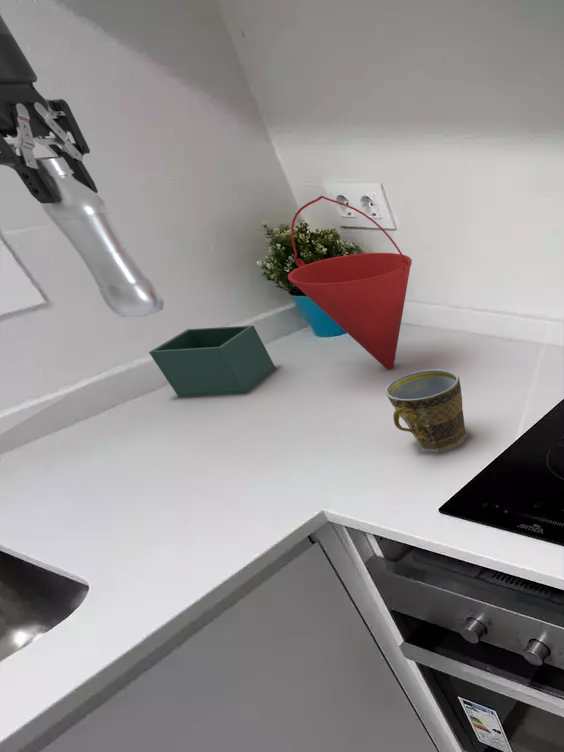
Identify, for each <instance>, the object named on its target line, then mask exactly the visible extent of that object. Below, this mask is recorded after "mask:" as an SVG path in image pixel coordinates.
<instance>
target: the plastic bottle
mask: <svg viewBox="0 0 564 752" xmlns="http://www.w3.org/2000/svg"><path fill="white" fill-rule="evenodd" d="M34 158H35V161H36V165H37V166H36V169H41V170H42V172H43V174H44V175H45V177H46V178H47V180H48V181H49V183H50V184H51V186H52V188H53V189H54V191H55V192H56V194H57V195H58V197H59V199H60V201H59V202H57V203H40V207H41V209H42V210H43V212H44V213H45V214H46V216H47V217H49V220H51V222H52V223H53V224H54V225H55V226H56V227H57V229H58V231H60V232H61V233H62V234H63V236H64V237H65V238H66V239H67V241H68V242H69V243H70V245H71V246H72V247H73V249H74V251H76V252H77V254H78V256H79V257H80V258H81V260H82V261H83V262H84V263H83V264H85V266H86V268H87V271H88V272H89V273H90V276H91V277H92V279H93V280H94V283H95V284H96V286H97V290H98V292H99V294H100V296H101V298H102V300H103V302H104V304H105V305H106V306H107V307H108V308H109V309H110V311H111V312H112V313H114V314H116V315H117V316H119V317H121V318H142V317H143V318H145V317H147V316H151V315H153V314H155V313H158V312H161V311H162V310H163V309H164V303H165V301H164V298H163V296H162V294H161V292H160V291H159V290H158V287H156V285H155V284H154V283H153V282H152V281H151V279H150V278H148V277H147V275H146V274H145V272H144V271H143V269H142V268H141V267H140V265H139V264H138V262H137V261H136V260H135V258H134V257H133V255H132V254H131V252H130V251H129V250H130V249H128V247H127V246H126V244H125V241H124V239H123V238H122V236H121V233H120V232H119V230H118V227H117V226H116V223H115V221H114V218H113V216H112V215H111V212H110V211H109V208H108V206H107V204H106V202H105V201H104V199H103V198H101V196H100V195H98V193H95V192H94V191H92V190H91V189H90V188H88V187H87V186H85V185H84V184H82V183H81V182H79V181H78V180H76V179H75V178H74V177H73V176H72V174H73V173H74V172H73V170H72V169H70V167H69V165H68V164H67V162H66V160H65V159H64V158H63V157H55V156H43V157H42V156H41V157H34Z"/></svg>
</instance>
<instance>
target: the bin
mask: <svg viewBox="0 0 564 752" xmlns="http://www.w3.org/2000/svg"><path fill="white" fill-rule="evenodd" d="M148 354H149V355H150V356H151V358H152V360H153V361H154V363H155V364H156V365H157V367H158V368H159V371H161V373H162V374H163V376H164V377H165V379H166V381H167V382H168V384H169V385H170V387H171V388H172V390H173V391H174V393H175V394H176V395H177V397H178V398H192V397H193V398H194V397H208V396H224V395H225V396H226V395H239V394H240V395H241V394H242V395H243V394H248V393H249V392H250V391H252V390H253V389H254V388H255V387H256V386H257V385H258V384H260V383H261V382H262V381H263V380H264V379H265V378H267V377H268V376H269V375H270V374H271V373H272V372H274V371H275V370H276V369H277V367H276V366H275V364H274V362H273V360H272V359H271V357H270V354H269V352H268V351H267V349H266V347H265V345H264V342H263V341H262V339H261V337H260V335H259V334H258V331H257V329H256V327H255V325H237V326H235V325H234V326H221V327H220V326H219V327H201V328H187V329H185V330H184V331H182V332H181V333H179V334H177V335H175V336H173V337H172V338H171V339H170V338H169V340H167V341H165V342H163V343H162V344H160V345H158V346H157V347H155V348H153V349H152V350H150V351H149V352H148Z"/></svg>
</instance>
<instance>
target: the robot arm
mask: <svg viewBox="0 0 564 752" xmlns="http://www.w3.org/2000/svg"><path fill="white" fill-rule="evenodd" d="M36 82H38V76H37V74H36V73H35V71H34V69H33V67H32V65H31V64H30V62H29V60H28V59H27V57H26V55H25V54H24V52H23V50H22V49H21V47H20V45H19V43H18V42H17V40H16V39H15V37H14V35H13V34H12V32H11V30H10V29H9V27H8V25H7V23H6V22H5V20H4V18H3V17H2V15H1V14H0V166H5V167H8V168H10V169H13V170H14V171H15V172H16V174H17V175H18V176H19V178H20V180H21V181H22V183H23V184H24V186H25V187H26V189H27V190H28V192H29V193H30V195H31V196H32V197H33V198H34V199H35V200H36V201H37V202H39V203H40V204H41V203H57V202H59V201H60V199H59V197H58V195H57V194H56V192H55V191H54V189H53V188H52V186H51V184H50V183H49V181H48V180H47V178H46V177H45V175H44V174H43V172H42V170H41V169H36V166H37V165H36V161H35V158H36V157H35V155H34V152H33V149H34V148H35V147H36V143H38V144H39V145H41V146H44V147H45V148H46V149H47V150H48V151H49V152H50V153H51V154H52V155H53V157H63V158H64V159H65V160H66V162H67V164H68V165H69V167H70V169H72V170H73V172H74V173H73V174H72V176H73V177H74V178H75V179H76V180H78V181H79V182H81V183H82V184H84V185H85V186H87V187H88V188H90V189H91V190H92V191H94V192H95V193H96V194H98V192H99V191H98V188H97V186H96V183H95V181H94V179H93V178H92V176H91V175H90V173H89V171H88V169H87V168H86V166H85V164H84V163H83V161H84V155H85V154H88V155H89V154H90V152H91V149H90V147H89V145H88V143H87V141H86V139H85V136H84V135H83V132H82V131H81V128H80V126H79V124H78V122H77V120H76V118H75V116H74V114H73V112H72V110H71V108H70V106H69V104H68V103H67V101H66V100H64V99H63V98H55V99H51V98H50V99H48V98H45V97H44V96H43V95H42V94H41V93H40V92H39V91H38V90H37V88H36V87H35V86H34V83H36ZM68 133H70V135H71V137H72V139H73V141H74V142H71V139H70V137H69V135H68ZM59 146H60V147H61V148H60V147H59ZM17 150H18V152H19V154H17Z"/></svg>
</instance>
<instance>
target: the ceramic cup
mask: <svg viewBox="0 0 564 752" xmlns="http://www.w3.org/2000/svg"><path fill="white" fill-rule="evenodd" d="M385 395H386V397H387V398H388V400H389V402H390V403H391V405H392V407H393V408H394V412H393V416H392V417H393V423H394V426H395V427H396V429H398V430H400V431H403V432H409V433H410V434H412V435H413V437H414V439H415V441H416V442H417V444H418V445H419V447H420V449H421V451H423V452H424V453H437V454H441V453H444V452H446V451H449V450H453V449H456V448H458V447H459V446H460V445H461V444H462V443H463V442H464V441H465V440H466V438H467V434H466V427H465V416H464V410H463V395H462V387H461V382H460V377H459V375H458V374H457V373H456V372H453V371H451V370H447V369H439V368H438V369H424V370H418V371H414V372H410V373H407V374H405V375H402V376H400V377H398V378H396V379H394V380H392V381H391V382H390V383H389V384H388V385H387V386H386V388H385ZM400 418H401V419H402V420H403V422H404V423H405V424H406V427H408V428H406V427H403V426H401V424H400Z"/></svg>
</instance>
